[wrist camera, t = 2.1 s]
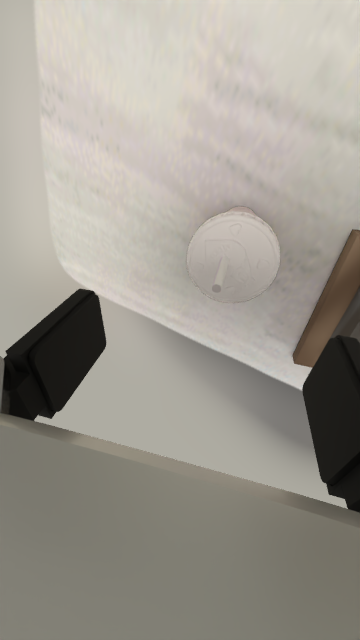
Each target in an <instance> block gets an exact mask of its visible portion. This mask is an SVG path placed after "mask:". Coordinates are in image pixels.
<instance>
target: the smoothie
mask: <svg viewBox="0 0 360 640" xmlns="http://www.w3.org/2000/svg"><path fill="white" fill-rule="evenodd" d="M186 264H187V270H188V273H189V276H190V278H191V280H192V282H193V283H194V285H195V286H196V287H197V288H198V289H199V290H200V291H201V292H202V293H203V294H205V295H206V296H208V297H210V298H212V299H214V300H217V301H220V302H225V303H239V302H244V301H248V300H250V299H253V298H255V297H257V296H258V295H260V294H261V293H263V292H264V291H265V290H266V289H267V288H268V287H269V286H270V285H271V283H272V282H273V280H274V279H275V277H276V275H277V272H278V269H279V264H280V246H279V243H278V240H277V236H276V234H275V233H274V232H273V230H272V229H271V227H270V226H269V225H268V224H267V223H266V222H264V221H263V220H262V219H261V218H259V217H257V216H256V215H255V213H254V212H253V211H252V210H251V209H249V208H247V207H242V206H239V207H234V208H232V209H230V210H229V211H227V212H225V213H220V214H218V215H216V216H214V217H212V218H210V219H208V220H207V221H206V222H205V223H203V224H202V225H201V226H200V227H199V228H198V230H197V231H196V233H195V234H194V236H193V237H192V240H191V242H190V244H189V247H188V250H187V256H186Z"/></svg>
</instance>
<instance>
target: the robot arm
mask: <svg viewBox="0 0 360 640" xmlns="http://www.w3.org/2000/svg"><path fill="white" fill-rule="evenodd" d="M105 347H106V337H105V331H104V326H103V320H102V314H101V308H100V302H99V298H98V296H97V295H96V294H95V292H94V291H90V290H85V289H79V290H77V291H76V292H75V293H74V294H72V295H71V296H70V297H69V298H68V299H66V300H65V301H64V302H63V303H62V304H61V305H59V306H58V307H57V308H56V309H55V310H54V311H52V312H51V313H50V314H49V315H48V316H46V317H45V318H44V319H43V320H42V321H41V322H40V323H38V324H37V325H36V326H35V327H34V328H32V329H31V330H30V331H29V332H28V333H27V334H25V336H23V337H22V338H21V339H20V340H18V341H17V342H16V343H15V344H13V345H12V346H11V347H10V348H9V349H8V350H6V353H7V356H6V357H5V358H4V359H3V358H2V357H1V356H0V640H360V343H359V341H358V340H357V339H356V338H353V337H348V336H342V335H337V336H336V337H335V338H330V339H329V340H328V342H327V344H326V346H325V347H324V349H323V351H322V353H321V354H320V356H319V358H318V360H317V361H316V363H315V365H314V367H313V368H312V370H311V372H310V374H309V375H308V377H307V379H306V381H305V382H304V384H303V396H304V401H305V406H306V410H307V415H308V420H309V425H310V429H311V434H312V439H313V444H314V448H315V453H316V458H317V462H318V467H319V472H320V476H321V479H322V481H323V482H324V483H326V484H327V488H328V493H329V495H333V496H336V497H340V498H343V499H345V501H346V504H347V508H348V509H346V508H342V507H339V506H336V505H333V504H329V503H326V502H323V501H319V500H316V499H313V498H309V497H306V496H303V495H299V494H296V493H292V492H289V491H285V490H282V489H278V488H275V487H271V486H268V485H264V484H260V483H256V482H253V481H250V480H246V479H242V478H239V477H235V476H232V475H228V474H225V473H221V472H218V471H214V470H211V469H207V468H204V467H200V466H196V465H193V464H189V463H186V462H182V461H178V460H175V459H171V458H168V457H164V456H161V455H157V454H153V453H150V452H146V451H143V450H139V449H135V448H132V447H128V446H124V445H121V444H117V443H113V442H110V441H106V440H103V439H98V438H95V437H91V436H88V435H84V434H80V433H76V432H73V431H69V430H66V429H62V428H58V427H55V426H51V425H47V424H43V423H39V422H35V421H34V419H35V418H36V417H37V415H38V414H39V416H43V417H47V418H50V419H52V417H53V416H54V414H55V413H56V412H58V411H60V410H62V408H63V407H64V406H65V404H66V403H67V401H68V400H69V399H70V397H71V396H72V394H73V393H74V391H75V390H76V389H77V387H78V386H79V384H80V383H81V382H82V380H83V379H84V377H85V376H86V374H87V373H88V372H89V370H90V369H91V367H92V366H93V365H94V363H95V362H96V360H97V359H98V358H99V356H100V355H101V353H102V352H103V350H104V349H105Z"/></svg>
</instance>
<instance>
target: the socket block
mask: <svg viewBox="0 0 360 640" xmlns="http://www.w3.org/2000/svg"><path fill="white" fill-rule="evenodd" d="M337 335H342V336H348V337H353V338H356V339H357V340H358V341H359V343H360V230H352V232H351V234H350V236H349V238H348V240H347V242H346V245H345V247H344V249H343V251H342V253H341V255H340V257H339V259H338V261H337V263H336V266H335V268H334V270H333V272H332V274H331V276H330V278H329V280H328V282H327V284H326V287H325V289H324V291H323V293H322V295H321V297H320V299H319V301H318V303H317V305H316V308H315V310H314V312H313V314H312V316H311V318H310V320H309V322H308V324H307V326H306V329H305V331H304V333H303V335H302V337H301V339H300V341H299V343H298V345H297V347H296V350H295V352H294V354H293V360H294V364H299V365H303V366H308V367H314V365H315V363H316V361H317V360H318V358H319V356H320V354H321V353H322V351H323V349H324V347H325V346H326V344H327V342H328V340H329V339H330V338H335V337H336V336H337Z"/></svg>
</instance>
